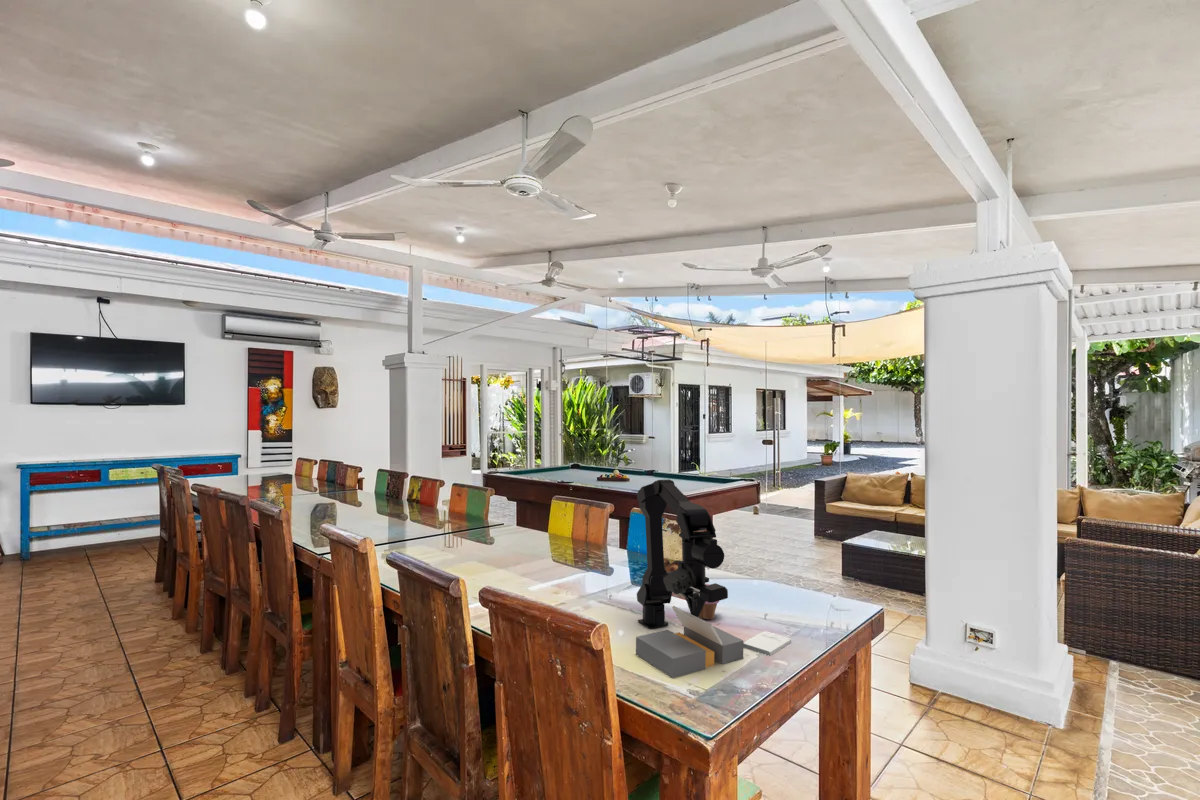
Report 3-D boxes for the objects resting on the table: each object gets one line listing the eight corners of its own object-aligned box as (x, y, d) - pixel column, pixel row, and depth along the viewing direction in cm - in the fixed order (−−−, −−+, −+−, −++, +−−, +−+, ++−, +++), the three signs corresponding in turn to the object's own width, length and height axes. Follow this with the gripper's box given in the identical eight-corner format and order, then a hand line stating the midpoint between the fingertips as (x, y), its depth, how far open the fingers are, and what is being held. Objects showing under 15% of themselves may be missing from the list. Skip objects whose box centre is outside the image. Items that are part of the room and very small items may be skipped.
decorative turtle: (660, 576, 224) (662, 554, 225) (701, 584, 220) (703, 561, 220) (654, 582, 215) (656, 559, 215) (697, 590, 210) (699, 567, 211)
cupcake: (721, 623, 179) (722, 589, 179) (691, 622, 179) (692, 587, 179) (717, 612, 187) (718, 580, 187) (689, 611, 188) (689, 578, 188)
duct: (635, 654, 156) (636, 636, 156) (703, 637, 167) (703, 621, 167) (672, 678, 143) (672, 658, 143) (743, 658, 155) (743, 640, 154)
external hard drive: (741, 648, 162) (763, 635, 171) (770, 658, 156) (791, 644, 165) (741, 642, 162) (763, 630, 171) (770, 651, 156) (791, 638, 165)
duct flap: (672, 607, 161) (673, 605, 162) (682, 625, 163) (683, 623, 164) (710, 626, 149) (712, 624, 149) (721, 645, 151) (722, 643, 151)
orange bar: (668, 634, 161) (679, 632, 163) (668, 647, 161) (679, 645, 163) (703, 654, 149) (714, 651, 150) (702, 668, 149) (714, 666, 150)
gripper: (646, 555, 159) (647, 614, 159) (693, 572, 143) (695, 638, 144) (679, 548, 165) (680, 605, 165) (728, 564, 149) (730, 627, 150)
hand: (695, 618), depth 156 cm, fingers closed, pressing on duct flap
